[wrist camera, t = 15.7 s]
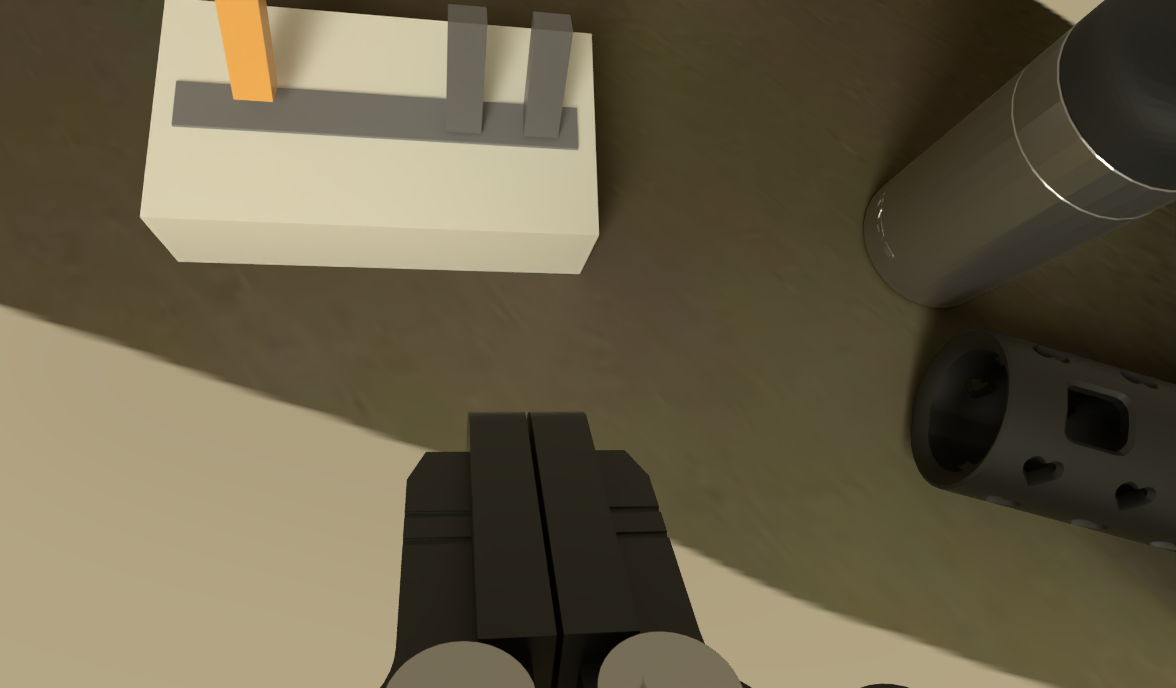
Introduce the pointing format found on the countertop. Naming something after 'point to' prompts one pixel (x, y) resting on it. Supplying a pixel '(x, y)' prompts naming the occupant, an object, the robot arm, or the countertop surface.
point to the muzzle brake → (1050, 436)
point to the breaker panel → (377, 144)
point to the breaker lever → (248, 49)
